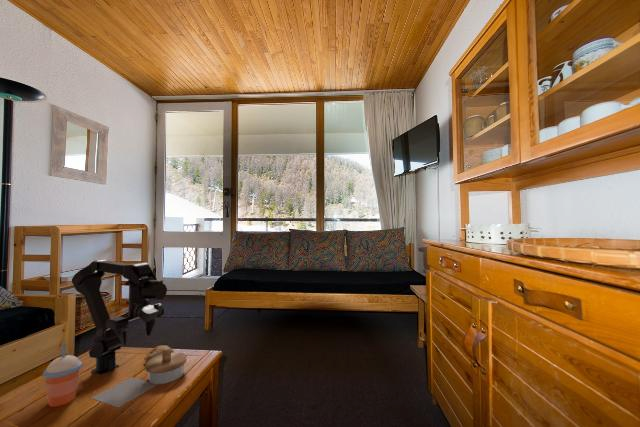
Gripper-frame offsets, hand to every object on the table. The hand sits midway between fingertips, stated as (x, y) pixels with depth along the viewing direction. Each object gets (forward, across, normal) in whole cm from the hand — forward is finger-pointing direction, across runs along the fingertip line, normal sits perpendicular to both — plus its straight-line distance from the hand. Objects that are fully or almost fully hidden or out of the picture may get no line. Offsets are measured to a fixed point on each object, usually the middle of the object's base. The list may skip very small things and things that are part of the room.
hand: (136, 340), depth 105 cm
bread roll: (+13, +10, 0) cm, 16 cm away
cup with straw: (+13, -20, +6) cm, 24 cm away
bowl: (+12, +3, -12) cm, 17 cm away
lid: (+8, +3, -12) cm, 14 cm away
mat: (+12, -9, -8) cm, 17 cm away
